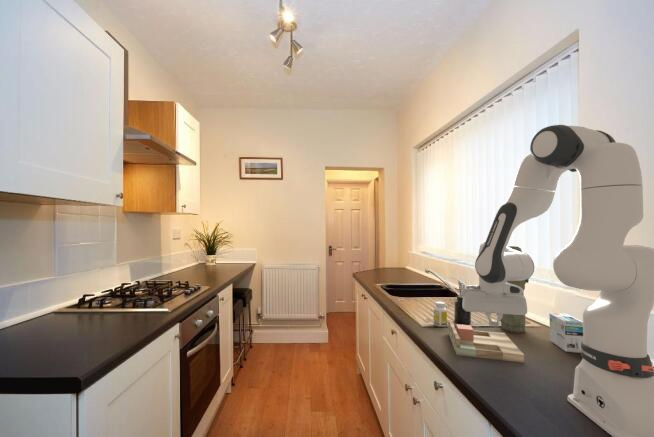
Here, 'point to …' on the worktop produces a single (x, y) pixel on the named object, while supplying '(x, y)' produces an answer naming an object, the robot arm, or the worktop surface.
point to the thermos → (509, 320)
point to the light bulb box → (566, 332)
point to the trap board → (486, 345)
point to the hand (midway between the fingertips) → (494, 325)
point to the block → (465, 332)
